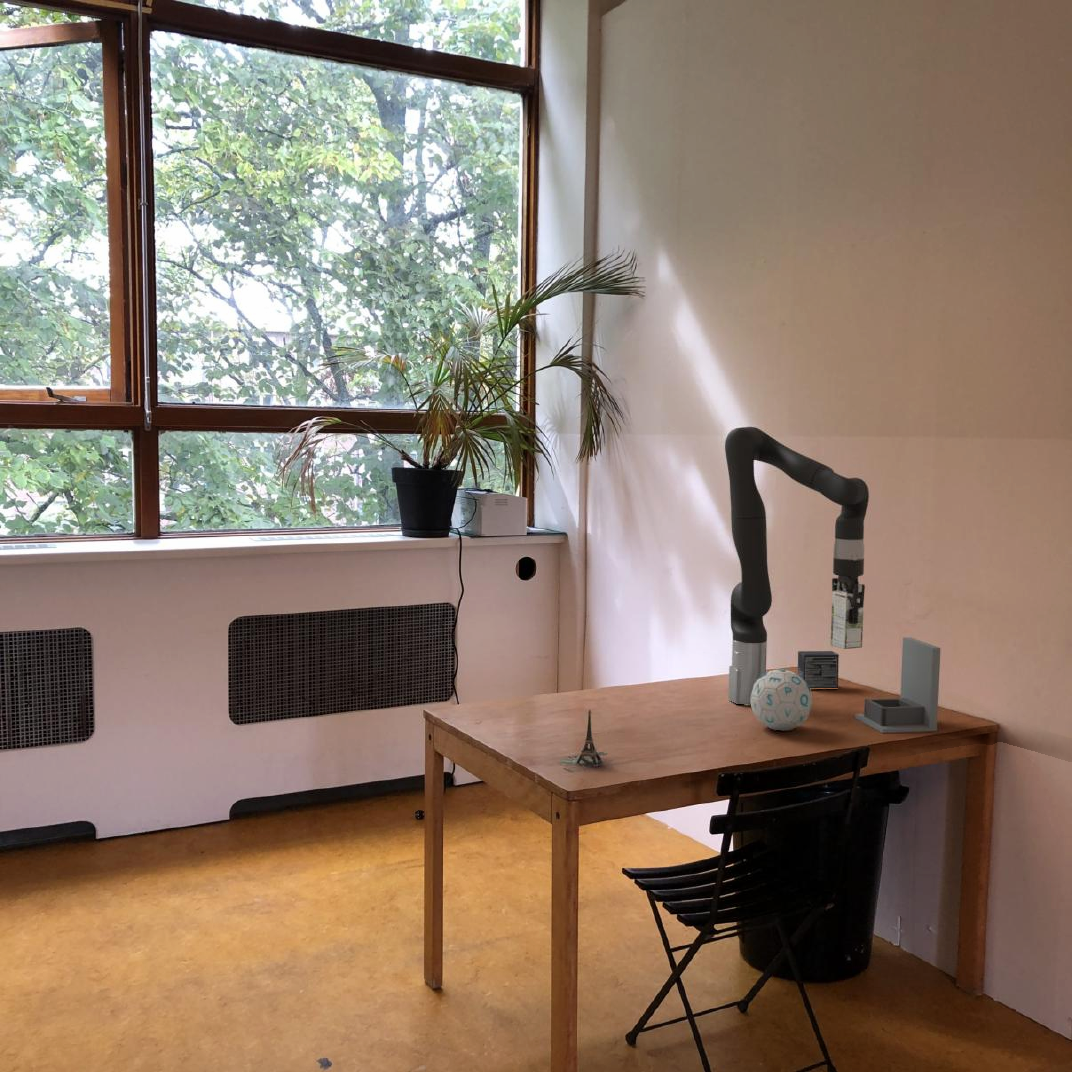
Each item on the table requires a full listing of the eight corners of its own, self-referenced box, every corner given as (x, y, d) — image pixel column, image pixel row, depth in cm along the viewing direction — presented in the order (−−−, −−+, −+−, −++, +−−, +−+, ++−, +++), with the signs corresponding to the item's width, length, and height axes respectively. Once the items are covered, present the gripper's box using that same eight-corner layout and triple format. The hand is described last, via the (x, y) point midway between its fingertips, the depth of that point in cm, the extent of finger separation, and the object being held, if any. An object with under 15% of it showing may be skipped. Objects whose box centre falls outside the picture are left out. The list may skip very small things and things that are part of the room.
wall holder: (882, 732, 270) (886, 649, 268) (854, 717, 285) (858, 638, 283) (936, 731, 272) (940, 648, 270) (906, 715, 287) (910, 637, 285)
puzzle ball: (755, 737, 265) (757, 676, 263) (744, 721, 280) (746, 663, 278) (818, 737, 265) (820, 677, 263) (803, 721, 280) (805, 664, 278)
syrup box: (848, 644, 284) (849, 588, 282) (863, 648, 278) (864, 591, 277) (830, 645, 282) (831, 589, 280) (844, 649, 276) (846, 593, 275)
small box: (831, 685, 323) (832, 650, 322) (838, 690, 316) (840, 654, 316) (796, 685, 322) (797, 650, 321) (803, 690, 316) (804, 654, 315)
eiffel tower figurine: (604, 753, 251) (605, 696, 250) (629, 765, 242) (630, 706, 241) (547, 762, 244) (548, 703, 242) (571, 775, 235) (572, 714, 234)
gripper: (822, 553, 284) (821, 617, 286) (847, 559, 270) (845, 626, 272) (849, 553, 285) (848, 616, 287) (875, 559, 271) (873, 625, 273)
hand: (847, 621), depth 279 cm, fingers closed on syrup box, 6 cm apart
